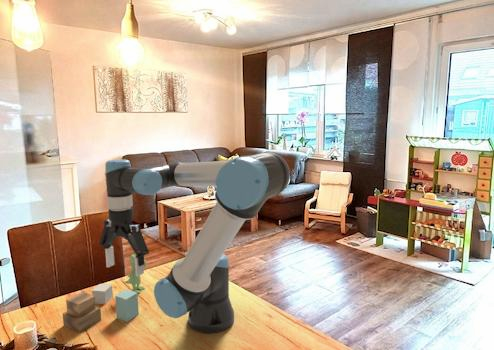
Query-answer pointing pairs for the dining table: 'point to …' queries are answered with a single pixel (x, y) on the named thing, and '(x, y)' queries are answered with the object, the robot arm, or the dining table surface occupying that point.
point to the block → (102, 293)
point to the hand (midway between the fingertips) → (124, 270)
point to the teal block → (127, 305)
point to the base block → (82, 320)
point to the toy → (133, 277)
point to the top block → (80, 304)
